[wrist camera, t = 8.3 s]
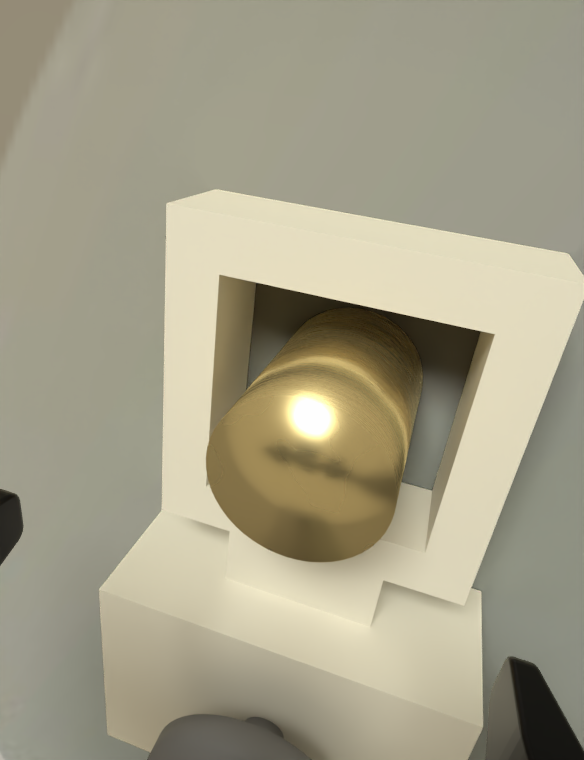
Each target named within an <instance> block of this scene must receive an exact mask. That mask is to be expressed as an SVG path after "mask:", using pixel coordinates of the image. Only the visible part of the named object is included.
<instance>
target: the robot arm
mask: <svg viewBox="0 0 584 760" xmlns="http://www.w3.org/2000/svg"><path fill="white" fill-rule="evenodd" d="M22 532H23V519H22V512H21V505H20V499H19V497H18V496H17V495H16V494H15V493H12V492H9V491H6V490H2V489H0V565H1V564H2V563H3V561H4V560H5V558H6V557H7V556H8V554H9V553H10V552H11V550H12V549H13V547H14V546H15V545H16V543H17V542H18V540H19V539H20V537H21V535H22ZM486 760H584V750H583V748H582V746H581V745H580V743H579V741H578V739H577V737H576V736H575V734H574V732H573V730H572V728H571V727H570V725H569V723H568V721H567V719H566V717H565V716H564V714H563V712H562V710H561V708H560V707H559V705H558V703H557V701H556V699H555V698H554V696H553V694H552V692H551V690H550V689H549V687H548V685H547V683H546V681H545V679H544V678H543V676H542V674H541V672H540V670H539V669H538V667H537V666H536V665H535V664H533V663H531V662H528V661H525V660H522V659H519V658H516V657H512V656H510V657H508V658H507V659H506V660H505V662H504V664H503V666H502V668H501V670H500V672H499V674H498V676H497V679H496V681H495V683H494V685H493V687H492V691H491V695H490V702H489V716H488V730H487V745H486Z"/></svg>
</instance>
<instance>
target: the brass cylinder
mask: <svg viewBox="0 0 584 760" xmlns="http://www.w3.org/2000/svg"><path fill="white" fill-rule="evenodd" d="M422 384H423V370H422V364H421V360H420V357H419V354H418V352H417V350H416V348H415V346H414V344H413V343H412V341H411V340H410V338H409V337H408V336H407V334H406V333H405V332H404V331H403V330H402V329H401V328H400V327H399V326H397V325H396V324H395V323H393V322H392V321H391V320H389V319H387V318H386V317H384V316H382V315H380V314H377V313H375V312H372V311H369V310H365V309H360V308H336V309H332V310H328V311H325V312H322V313H320V314H318V315H316V316H314V317H312V318H311V319H309V320H308V321H307V322H306V323H304V324H303V325H302V326H301V327H300V328H299V329H298V331H297V332H296V333H295V334H294V335H293V336H292V338H291V339H290V340H289V341H288V342H287V343H286V345H285V346H284V347H283V348H282V349H281V350H280V352H279V353H278V354H277V355H276V356H275V357H274V359H273V360H272V361H271V362H270V363H269V364H268V366H267V367H266V368H265V369H264V370H263V371H262V373H261V374H260V375H259V376H258V377H257V378H256V380H255V381H254V382H253V383H252V384H251V385H250V387H249V388H248V389H247V390H246V391H245V392H244V394H243V395H242V396H241V397H240V398H239V399H238V401H237V402H236V403H235V404H234V405H233V406H232V408H231V409H230V410H229V411H228V412H227V413H226V415H225V416H224V417H223V418H222V419H221V420H220V422H219V423H218V425H217V426H216V427H215V429H214V431H213V433H212V435H211V437H210V440H209V443H208V446H207V452H206V471H207V477H208V481H209V484H210V488H211V490H212V493H213V495H214V497H215V499H216V501H217V503H218V504H219V506H220V508H221V509H222V511H223V512H224V513H225V515H226V516H227V517H228V519H229V520H230V521H231V522H232V523H233V524H234V525H235V526H236V527H237V528H238V529H239V530H240V531H241V532H242V533H243V534H245V535H246V536H247V537H249V538H250V539H251V540H253V541H254V542H256V543H257V544H259V545H261V546H262V547H264V548H266V549H268V550H270V551H272V552H274V553H277V554H280V555H282V556H285V557H288V558H292V559H296V560H301V561H307V562H334V561H340V560H345V559H348V558H351V557H354V556H356V555H359V554H361V553H363V552H364V551H366V550H368V549H369V548H371V547H372V546H373V545H374V544H375V543H377V542H378V541H379V540H380V539H381V537H382V536H383V535H384V534H385V533H386V531H387V529H388V527H389V526H390V524H391V522H392V519H393V516H394V513H395V509H396V504H397V500H398V495H399V490H400V486H401V481H402V477H403V472H404V468H405V463H406V458H407V454H408V449H409V445H410V440H411V436H412V431H413V427H414V422H415V417H416V413H417V408H418V404H419V399H420V395H421V390H422Z"/></svg>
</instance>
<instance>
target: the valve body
mask: <svg viewBox="0 0 584 760" xmlns="http://www.w3.org/2000/svg"><path fill="white" fill-rule="evenodd" d="M256 283H260V284H265V285H270V286H274V287H279V288H284V289H288V290H293V291H297V292H302V293H307V294H311V295H316V296H320V297H325V298H330V299H334V300H339V301H344V302H348V303H353V304H357V305H362V306H367V307H371V308H376V309H381V310H385V311H390V312H394V313H399V314H404V315H408V316H413V317H417V318H422V319H427V320H431V321H436V322H441V323H445V324H450V325H454V326H459V327H464V328H468V329H473V330H478V331H481V333H480V336H479V339H478V343H477V346H476V349H475V352H474V356H473V359H472V362H471V365H470V369H469V372H468V375H467V378H466V382H465V385H464V388H463V392H462V395H461V398H460V401H459V405H458V408H457V411H456V414H455V418H454V421H453V424H452V427H451V431H450V434H449V437H448V440H447V444H446V447H445V450H444V453H443V457H442V460H441V463H440V467H439V470H438V473H437V476H436V480H435V483H434V486H433V489H432V491H431V490H427V489H424V488H420V487H417V486H413V485H410V484H406V483H402V482H401V486H400V490H399V495H398V500H397V504H396V509H395V513H394V516H393V519H392V522H391V524H390V526H389V527H388V529H387V531H386V533H385V534H384V535H383V536H382V537H381V539H380V540H379V541H378V542H377V543H375V544H374V545H373V546H372V547H371V548H369V549H368V550H366V551H364V552H363V553H361V554H359V555H356V556H354V557H351V558H348V559H345V560H340V561H334V562H307V561H301V560H296V559H292V558H288V557H285V556H282V555H280V554H277V553H274V552H272V551H270V550H268V549H266V548H264V547H262V546H261V545H259V544H257V543H256V542H254V541H253V540H251V539H250V538H249V537H247V536H246V535H245V534H243V533H242V532H241V531H240V530H239V529H238V528H237V527H236V526H235V525H234V524H233V523H232V522H231V521H230V520H229V519H228V517H227V516H226V515H225V513H224V512H223V511H222V509H221V508H220V506H219V504H218V503H217V501H216V499H215V497H214V495H213V493H212V490H211V488H210V484H209V481H208V477H207V471H206V452H207V446H208V443H209V440H210V437H211V435H212V433H213V431H214V429H215V427H216V426H217V425H218V423H219V422H220V420H221V419H222V418H223V417H224V416H225V415H226V413H227V412H228V411H229V410H230V409H231V408H232V406H233V405H234V404H235V403H236V402H237V401H238V399H239V398H240V397H241V396H242V395H243V394H244V392H245V391H246V386H247V375H248V365H249V354H250V344H251V333H252V323H253V312H254V302H255V292H256ZM583 300H584V276H583V274H582V273H581V271H580V270H579V268H578V267H577V265H576V264H575V263H574V261H573V260H572V258H571V257H570V255H569V254H568V253H563V252H557V251H552V250H546V249H541V248H535V247H530V246H524V245H519V244H513V243H508V242H502V241H497V240H491V239H486V238H481V237H475V236H470V235H464V234H459V233H453V232H448V231H442V230H437V229H431V228H426V227H420V226H415V225H409V224H404V223H398V222H393V221H387V220H382V219H376V218H371V217H365V216H360V215H355V214H349V213H344V212H338V211H333V210H327V209H322V208H316V207H311V206H305V205H300V204H294V203H289V202H283V201H278V200H272V199H267V198H261V197H256V196H250V195H245V194H240V193H234V192H229V191H223V190H218V189H215V190H212V191H208V192H205V193H201V194H198V195H194V196H191V197H187V198H184V199H180V200H176V201H173V202H169V203H167V206H166V271H165V336H164V400H163V465H162V511H161V512H160V513H159V514H158V516H157V517H156V518H155V520H154V521H153V522H152V523H151V525H150V526H149V527H148V528H147V530H146V531H145V532H144V533H143V535H142V536H141V537H140V538H139V540H138V541H137V542H136V543H135V545H134V546H133V547H132V548H131V550H130V551H129V552H128V554H127V555H126V556H125V557H124V559H123V560H122V561H121V562H120V564H119V565H118V566H117V567H116V569H115V570H114V571H113V572H112V574H111V575H110V576H109V577H108V579H107V580H106V581H105V582H104V584H103V585H102V586H101V587H100V589H99V599H100V615H101V632H102V649H103V666H104V683H105V700H106V717H107V734H108V735H110V736H112V737H115V738H117V739H119V740H122V741H124V742H127V743H129V744H131V745H134V746H136V747H139V748H141V749H143V750H146V751H148V752H150V755H149V757H148V759H147V760H468V758H469V756H470V754H471V751H472V749H473V747H474V745H475V743H476V741H477V739H478V737H479V735H480V733H481V731H482V729H483V682H482V608H481V591H479V590H476V589H472V588H471V587H472V585H473V582H474V579H475V577H476V574H477V572H478V569H479V567H480V564H481V562H482V559H483V556H484V554H485V551H486V549H487V546H488V544H489V541H490V538H491V536H492V533H493V531H494V528H495V526H496V523H497V520H498V518H499V515H500V513H501V510H502V508H503V505H504V503H505V500H506V497H507V495H508V492H509V490H510V487H511V485H512V482H513V479H514V477H515V474H516V472H517V469H518V467H519V464H520V461H521V459H522V456H523V454H524V451H525V449H526V446H527V444H528V441H529V438H530V436H531V433H532V431H533V428H534V426H535V423H536V420H537V418H538V415H539V413H540V410H541V408H542V405H543V402H544V400H545V397H546V395H547V392H548V390H549V387H550V384H551V382H552V379H553V377H554V374H555V372H556V369H557V367H558V364H559V361H560V359H561V356H562V354H563V351H564V349H565V346H566V343H567V341H568V338H569V336H570V333H571V331H572V328H573V325H574V323H575V320H576V318H577V315H578V313H579V310H580V308H581V305H582V302H583Z"/></svg>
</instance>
